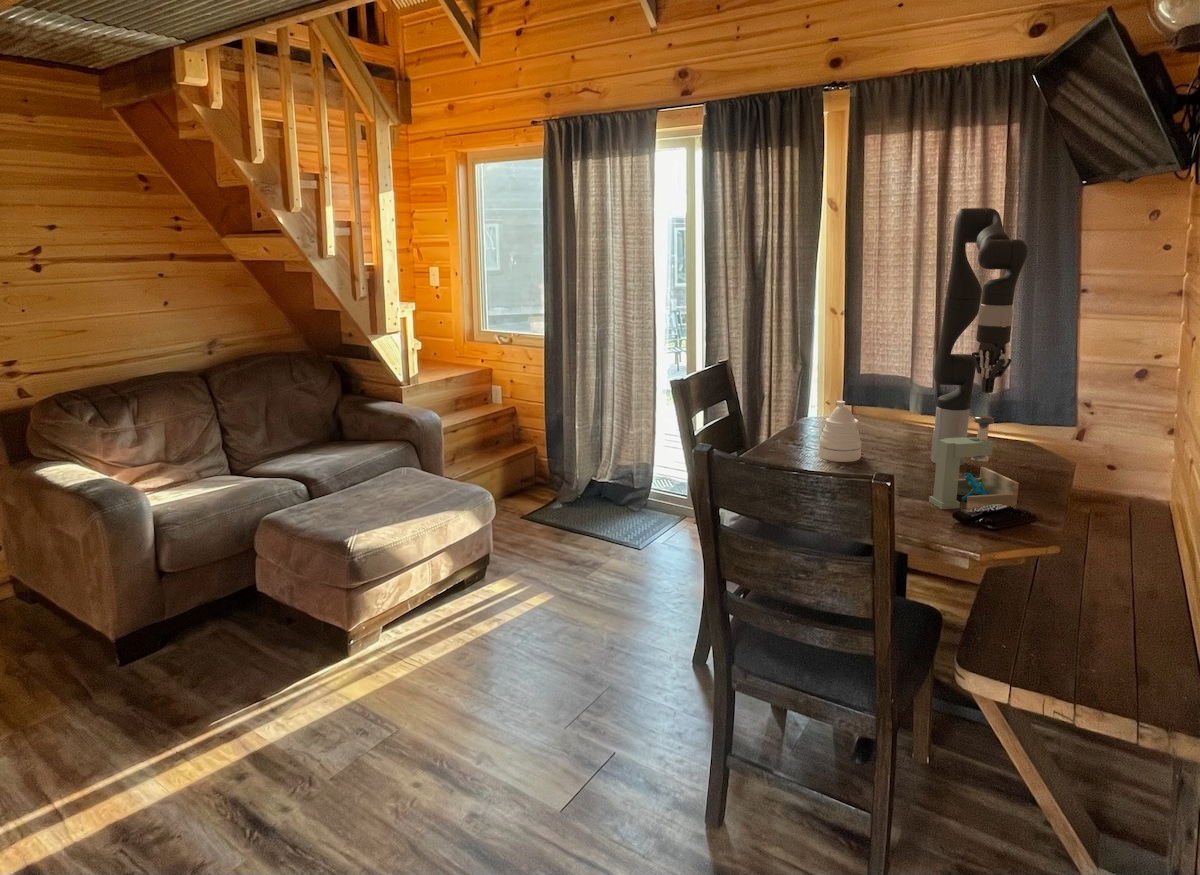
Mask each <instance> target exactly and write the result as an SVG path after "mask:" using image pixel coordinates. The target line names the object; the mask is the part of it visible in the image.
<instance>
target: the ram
mask: <svg viewBox="0 0 1200 875" xmlns="http://www.w3.org/2000/svg"><path fill="white" fill-rule="evenodd" d="M994 421H995V418H994V417H993V416H989V415H975V416H974V423H976V424H978V425H977V434H976V437H977V442H979V441H988V435H989V429H990V428H989V427H990V425H991V424H992V425H993V424H994V423H995V422H994ZM989 458H990V457H989V455H983V456H977V457H970V460H971V461H973V462H977V463H988V462H989Z"/></svg>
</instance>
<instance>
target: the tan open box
mask: <svg viewBox="0 0 1200 875" xmlns="http://www.w3.org/2000/svg"><path fill="white" fill-rule="evenodd" d="M975 478H976V479H977V480H978V483H980V482H982V484H983V486H984V488H985V490H986V491H988V492H989V494H990V495H979V494H976V495H972V496H967V500H966V506H965V511H966V510H970V509H975V508H979V507H982V506H987V505H991V504H1004V505H1008V506H1011V507H1013V508H1016V509H1017V501H1018V496H1019V495H1018V493H1019V486H1020V482H1018V481H1015V480H1013V479H1011V478H1009V477H1007V476H1004V475H1002V474H1001V473H999V472H996V471H994V470H992V469H990V468H988V467H985V466H981V467H980V472H979V477H975ZM967 482H968V481H967V480H966V479H965V478H958V488H957V495H958V496H959V495H967V494H968V493H970V492H971V490H972V489H973V488H972V487H970V486H969V485H968V483H967Z"/></svg>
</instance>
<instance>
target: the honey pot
mask: <svg viewBox="0 0 1200 875" xmlns="http://www.w3.org/2000/svg"><path fill="white" fill-rule="evenodd" d="M845 404H846V401H844V400H836V405H837V406H836V407H835V408H834V409H833V411H832V412H831V413H830V416H829V417H826V418H825V419H824V420H825V426H824V427H823V428H822V432H821V434H820V437H819V440H818V441H819V442H818V451H817V456H818V458H820V459H823V460H826V461H831V462H837V463H838V462H839V463H840V462H843V463H848V462H855V461H859V460H860V459H861V456H862V454H861V453H862V439H861V438H860V437H861V436H860V430H859V429H858V426H857V425H858V424H859V423H860V422H859V420H858V419H857V418H855V417H854V415H853V413H852V411H851V409H850V408H849V407H848V406H847V405H845Z"/></svg>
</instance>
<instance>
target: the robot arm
mask: <svg viewBox="0 0 1200 875" xmlns="http://www.w3.org/2000/svg"><path fill="white" fill-rule="evenodd" d="M952 237H953V238H952V250H951V263H950V269H949V276H948V281H947V287H946V293H945V300H944V301H945V302H944V307H943V319H942V325H941V326H942V327H941V334H940V339H939V344H938V348H937V353H936V357H935V358H936V359H935V363H934V370H933V377H934V378H933V380H934V381H935V383H936V384H937V385H940V386H941V385H942V386H957V388H956V389H955V390H953V391H951V392H949V393H946V394H943V395H940V396H939V397H937V400H936V407H935V408H936V409H935V418H934V428H933V430H932V435H931V436H932V438H931V449H930V462H932V463H933V464H936V461H937V451H938V441H939V440H942V439H944V438H960V437H965V438H968V430H969V419H970V410H971V403H972V402H971V401H972V396H973V389H974V388H973V387H974V381H975V377H976V376H975V375H976V372H977V374H980V376H981V378H982V380H981V382H982V383H981V392H982V393H985V394H992V393H994V389H995V388H994V387H995V382H996V381H995V379H996V378H1001V377H1002V376H1003V375H1004V373H1005V371H1006V370H1007V369H1008V367H1009V366H1010V365H1011V363H1012V359H1011V358H1007V356H1006V353H1007V352H1006V344H1009V343H1010V342H1011V336H1012V335H1011V333H1012V327H1013V326H1012V324H1013V317H1014V309H1013V308H1014V307H1013V306H1014V299H1015V290H1016V285H1017V282H1018V278H1019V276H1020V273H1021V272H1022V268H1023V267H1024V265H1025V262H1026V259H1027V257H1028V252H1029V250H1028V246H1027V244H1026V243H1025V241H1023V240H1022V239H1017V238H1016V239H1011V238H1010V237H1009V235H1007V233H1005V230H1004V226H1003V222H1002V218H1001V215H1000V213H999V211H998V210H997V209H995V208H991V207H974V208H973V207H968V208H967V207H965V208H964V207H963V208H960V209H959V210H958V212H956V216H955V220H954V226H953V236H952ZM967 243H968V244H970V243H971V244H972V243H973V244H976V248H977V249H978V256H977V259H978V260H977V261H978V264H979V266H980V268H982V269H985V270H1006V272H1005V273H1004V275H1003V276H1001V277H999V278H998V277H997V278H995V279H994V278H993V279H990V280H986V281H985V282H984V283H983V286H982V287H981V283H980V281H979V278H978V277H977V275H976V274H975V271H974V270H973V268H972V267H971V264H970V262H969V259H968V256H967V250H966V245H967ZM977 316H978V319H977V320H978V321H977V330H976V337H975V338H976V339H975V340H976V342H977V343H979V345H978V350H977V351H975V352H974V351H973V352H972V353H971V354H968V353H952V352H953V349H954V347H955V344H956V342H957V341H958V339H959V337H961V335H963V332H964V331H965V330H966V329H967V328H968V327H969V326H970V325H971V324H972V323H973V322H974V320H976V318H977ZM965 458H966V457H961V459H960V466H963V465H965Z"/></svg>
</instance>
